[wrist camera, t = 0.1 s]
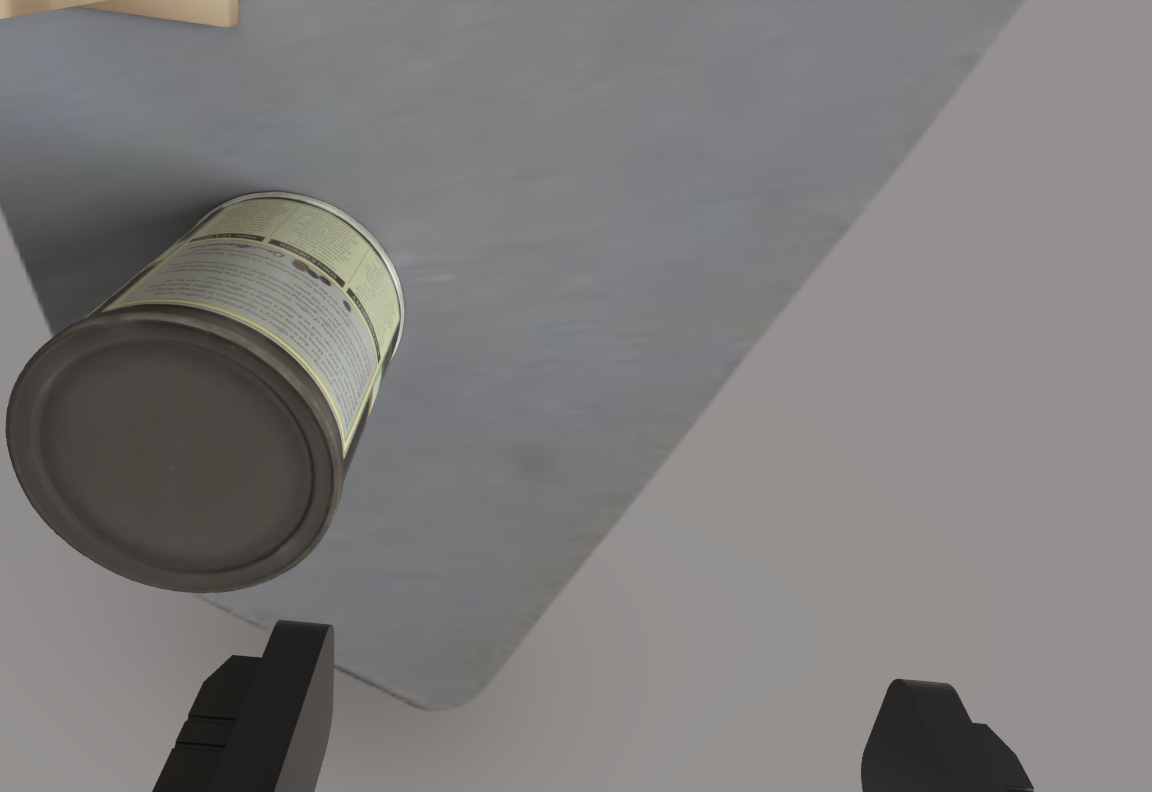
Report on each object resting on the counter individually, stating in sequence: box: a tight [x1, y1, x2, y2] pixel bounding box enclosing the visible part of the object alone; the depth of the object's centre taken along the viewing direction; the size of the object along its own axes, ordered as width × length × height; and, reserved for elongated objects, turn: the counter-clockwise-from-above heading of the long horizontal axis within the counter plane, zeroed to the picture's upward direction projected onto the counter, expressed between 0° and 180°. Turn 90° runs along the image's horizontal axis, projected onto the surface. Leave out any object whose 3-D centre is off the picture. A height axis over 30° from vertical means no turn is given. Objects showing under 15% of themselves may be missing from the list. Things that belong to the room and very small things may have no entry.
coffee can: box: [6, 191, 404, 593], centre depth 35 cm, size 10×10×14 cm
